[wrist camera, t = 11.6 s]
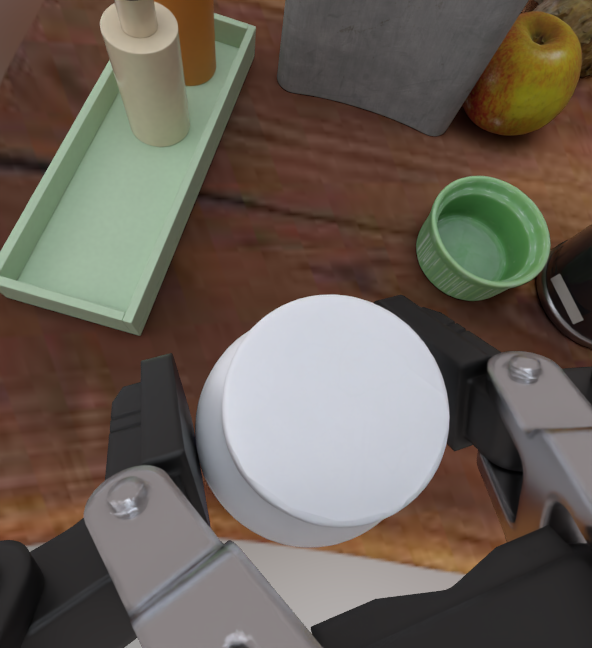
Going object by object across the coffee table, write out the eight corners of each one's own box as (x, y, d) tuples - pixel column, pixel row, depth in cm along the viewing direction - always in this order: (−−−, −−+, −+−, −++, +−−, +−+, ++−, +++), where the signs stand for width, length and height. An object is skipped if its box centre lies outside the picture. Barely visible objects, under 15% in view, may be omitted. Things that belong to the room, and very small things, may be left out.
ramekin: (495, 328, 33) (532, 309, 29) (391, 274, 33) (413, 247, 29) (526, 240, 36) (564, 210, 32) (431, 190, 36) (456, 155, 32)
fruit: (467, 59, 42) (518, -30, 34) (549, 103, 42) (619, 23, 34) (431, 124, 39) (479, 41, 31) (520, 172, 38) (591, 100, 31)
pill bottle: (344, 531, 15) (487, 606, 7) (192, 508, 14) (139, 555, 6) (359, 382, 17) (487, 291, 8) (225, 357, 16) (218, 235, 8)
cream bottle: (198, 110, 35) (182, -54, 24) (178, 154, 33) (151, 1, 22) (142, 92, 34) (100, -81, 24) (120, 136, 33) (64, -28, 22)
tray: (254, 56, 38) (256, 26, 36) (140, 336, 29) (131, 323, 26) (154, 24, 38) (148, -9, 35) (6, 297, 29) (-17, 280, 26)
